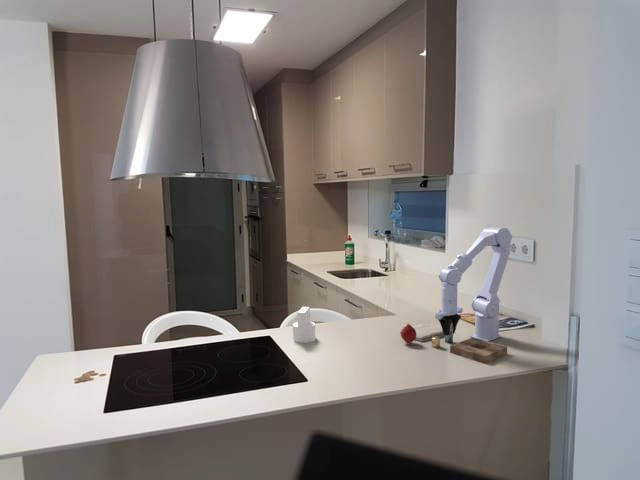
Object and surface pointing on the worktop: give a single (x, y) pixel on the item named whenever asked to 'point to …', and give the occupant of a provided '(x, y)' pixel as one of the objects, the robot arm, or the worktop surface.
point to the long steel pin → (450, 337)
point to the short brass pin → (436, 342)
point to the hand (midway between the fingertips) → (448, 333)
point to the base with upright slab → (304, 327)
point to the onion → (408, 334)
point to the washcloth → (427, 331)
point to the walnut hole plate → (478, 350)
